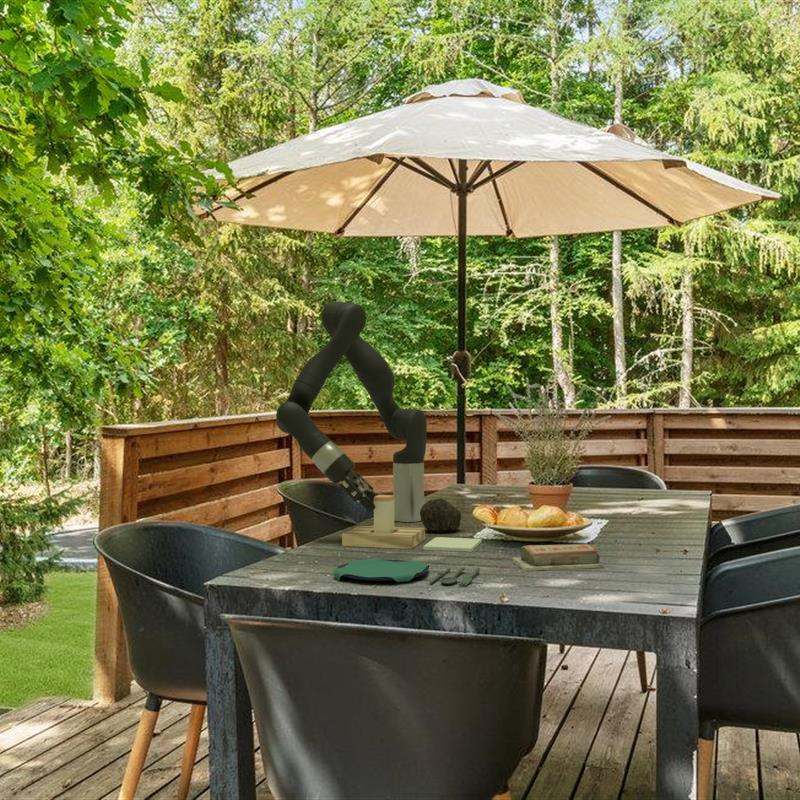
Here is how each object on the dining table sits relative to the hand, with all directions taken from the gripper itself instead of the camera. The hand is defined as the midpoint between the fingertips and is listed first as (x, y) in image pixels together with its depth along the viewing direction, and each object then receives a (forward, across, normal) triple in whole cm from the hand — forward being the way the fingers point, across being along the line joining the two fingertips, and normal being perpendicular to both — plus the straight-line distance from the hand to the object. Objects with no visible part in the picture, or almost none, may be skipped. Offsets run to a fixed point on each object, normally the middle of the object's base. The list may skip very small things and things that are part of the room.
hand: (376, 507), depth 236 cm
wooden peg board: (+8, 0, +5) cm, 9 cm away
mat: (+20, -2, -8) cm, 22 cm away
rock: (+16, +21, -3) cm, 26 cm away
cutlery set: (+17, -40, -3) cm, 43 cm away
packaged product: (+39, -22, -26) cm, 52 cm away
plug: (+8, 0, +5) cm, 9 cm away
